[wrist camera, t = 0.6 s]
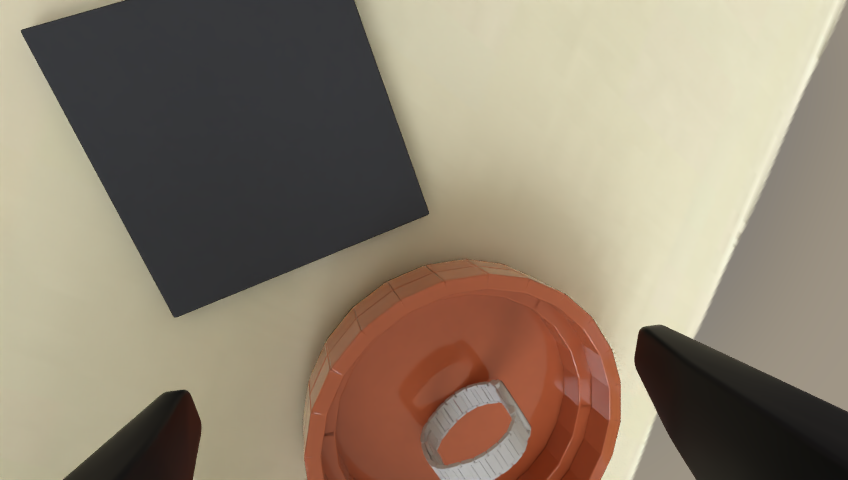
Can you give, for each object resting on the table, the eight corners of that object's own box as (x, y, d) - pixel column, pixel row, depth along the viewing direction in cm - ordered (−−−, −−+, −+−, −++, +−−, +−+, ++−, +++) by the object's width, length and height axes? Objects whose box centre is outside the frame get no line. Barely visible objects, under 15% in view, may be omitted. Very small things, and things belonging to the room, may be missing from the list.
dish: (608, 448, 28) (649, 487, 25) (370, 578, 26) (382, 641, 22) (539, 212, 25) (578, 221, 21) (251, 335, 22) (243, 368, 18)
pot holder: (425, 212, 23) (429, 214, 22) (178, 312, 21) (173, 318, 20) (331, -52, 20) (333, -60, 19) (30, 34, 18) (18, 29, 17)
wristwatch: (506, 395, 26) (555, 450, 21) (430, 451, 25) (462, 521, 20) (481, 355, 25) (526, 403, 20) (402, 412, 24) (428, 476, 19)
